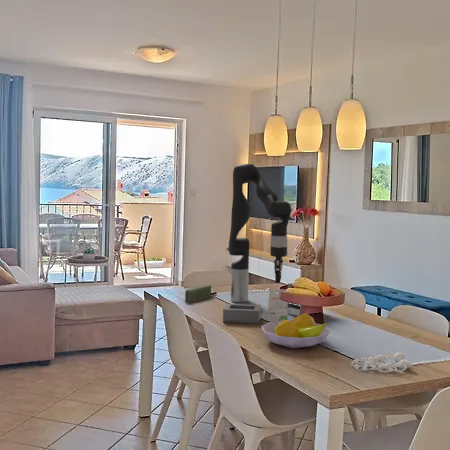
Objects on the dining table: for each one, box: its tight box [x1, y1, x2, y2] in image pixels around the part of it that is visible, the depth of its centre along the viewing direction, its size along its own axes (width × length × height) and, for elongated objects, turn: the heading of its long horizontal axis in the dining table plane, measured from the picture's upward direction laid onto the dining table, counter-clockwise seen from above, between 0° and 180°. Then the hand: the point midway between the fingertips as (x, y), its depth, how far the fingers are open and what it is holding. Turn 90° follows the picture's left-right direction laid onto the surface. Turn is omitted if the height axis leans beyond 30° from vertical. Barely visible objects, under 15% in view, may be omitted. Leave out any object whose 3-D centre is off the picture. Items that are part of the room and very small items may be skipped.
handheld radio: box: [184, 284, 218, 303], centre depth 302 cm, size 7×3×25 cm
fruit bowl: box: [261, 313, 331, 349], centre depth 220 cm, size 28×27×11 cm
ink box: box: [267, 288, 288, 322], centre depth 256 cm, size 9×5×15 cm, turn 84°
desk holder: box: [222, 303, 262, 325], centre depth 256 cm, size 12×16×6 cm
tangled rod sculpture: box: [350, 351, 413, 374], centre depth 193 cm, size 19×14×4 cm
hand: (278, 281), depth 255 cm, fingers open, 8 cm apart
